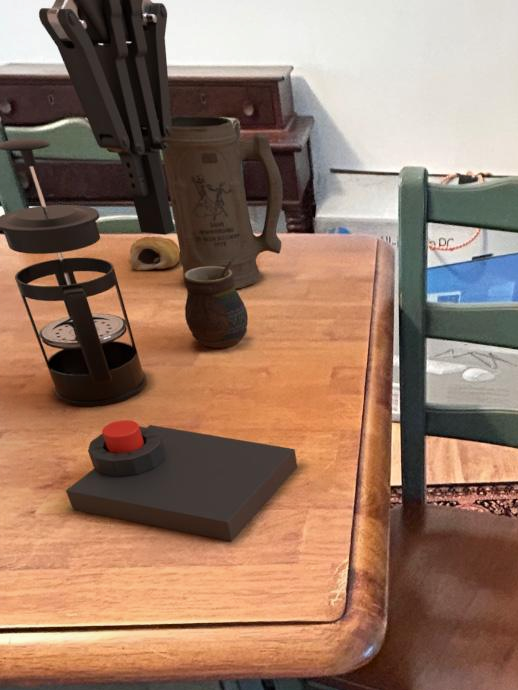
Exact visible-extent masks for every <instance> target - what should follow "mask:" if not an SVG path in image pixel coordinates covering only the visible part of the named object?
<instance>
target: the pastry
mask: <svg viewBox="0 0 518 690" xmlns="http://www.w3.org/2000/svg"><path fill="white" fill-rule="evenodd" d="M129 254H130V256H129V257H130V258H129V259H128V262H129V264H130V265H131V266H132V267H133V268H134V270H136V271H151V270H154V269H158V270H163V269H168V268H172V267H174V266H176V265H177V264H178V262H179V261H180V257H179V255H180V249H179V244H177V242H176V241H175V240H174V239H171V238H167V237H163V236H144V237H142V238H140V239H137V240H136V241H135V242H133V243H132V245H131V247H130V248H129Z"/></svg>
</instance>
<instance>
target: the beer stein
mask: <svg viewBox="0 0 518 690" xmlns="http://www.w3.org/2000/svg"><path fill="white" fill-rule="evenodd" d="M158 122H159V120H158ZM171 122H172V136H171V137H170V138H165V139H164V140H163V141H169V144H170V145H169V149H168V150H161V155H162V159H163V165H164V170H165V171H164V172H165V177H166V182H167V187H168V193H169V198H170V204H171V209H172V215H173V216H172V217H173V222H174V228H175V232H176V237H177V242H178V248H179V261H180V262H181V265H182V266H181V267H182V276H184V273H185V272H187V271H189V270H191V269H194V268H198V267H206V266H219V267H224V268H225V267H226V266H227V264H228V263H229V261H230V260H232V259H234V260H233V262H232V264H231V266H230V268H229V269H230V270H231V271H232V272H233V277H234V282H235V283H234V286H235V289H236V290H238V289H243V288H246V287H248V286H252V285H253V284H255V283H256V282H258V280H259V279H260V271H259V270H260V269H259V267H258V264H257V258H258V256H259V255H260V254H261V253H263V252H271V253H274V254H277V255H279V254H280V253H281V250H282V240H281V239H280V238H279V237H278V235H277V227H278V222H279V219H280V215H281V211H282V206H283V197H284V192H283V180H282V176H281V172H280V170H279V166H278V163H277V162H276V160H275V157H274V155H273V152H272V149H271V145H270V143H271V142H270V135H269V134H267V133H254V136H253V137H251V138H248V139H244V140H241V141H240V140H238V135H237V132H236V131H235V129H234V126H233V122H232V120H231V119H229V118H225V117H220V116H210V115H209V116H207V115H171ZM247 158H255V159H256V160H257V161H258V162H259V163H260V164H261V166H262V169H263V173H264V177H265V182H266V207H265V208H266V210H265V217H264V223H263V228H262V232H261V234H260V235H257V236H256V235H255V234H254V232H253V231H254V230H253V226H252V223H251V218H250V211H249V207H248V201H247V194H246V188H245V183H244V178H243V173H242V164H243V161H244V160H245V159H247ZM183 282H184V283H185V281H184V280H183Z"/></svg>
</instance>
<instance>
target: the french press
mask: <svg viewBox="0 0 518 690" xmlns="http://www.w3.org/2000/svg"><path fill="white" fill-rule="evenodd" d="M48 147H51V142H50V141H47V140H45V139H42V138H34V137H31V138H30V137H24V138H23V137H22V138H14V139H9V140H6V141H4V142H1V143H0V151H1V150H2V151H9V152H20V155H21V158H22V160H23V163H24V166H25V167H28V168H29V171H30V175H31V177H32V180H33V183H34V187H35V189H36V190H35V191H36V192H37V196H38V198H39V203H40V204H41V205H39V206H32V207H27V208H21V209H17V210H13V211H9V212H7V213H4V214H2V215H0V231H2V232H3V234H4V237H5V240H6V243H7V245H8V247H9V249H10V250H12V251H14V252H17V253H20V254H21V253H23V254H31V255H46V254H47V255H48V254H57V257H58V258H56V259H49V260H45V261H41V262H37V263H34V264H33V263H32V264H31V265H28V266H25V267H24V268H21V269H20V270H19V271H17V272H16V274H15V275H14V280H15V283H16V285H17V287H18V290H19V293H20V296H21V299H22V301H23V304H24V307H25V309H26V312H27V315H28V318H29V321H30V323H31V325H32V329H33V331H34V334H35V337H36V339H37V340H36V341H37V343H38V345H39V348H40V351H41V353H42V356H43V358H44V362H45V364H46V367H47V370H48V373H49V375H50V378H51V381H52V383H53V391H54V392H53V393H54V395H55V397H56V399H57V400H59V402H61V403H64V404H66V405H70V406H74V407H101V406H105V405H106V406H107V405H112V404H117V403H120V402H123V401H126V400H128V399H130V398H133V397H135V396H136V395H138V394H140V393H141V392H142V391H143V390H145V388H146V387H147V384H148V378H147V374H146V373H145V372H144V371H143V367H142V365H141V361H140V357H139V353H138V350H137V346H136V343H135V338H134V335H133V331H132V328H131V325H130V321H129V317H128V314H127V310H126V306H125V303H124V299H123V296H122V293H121V289H120V285H119V282H118V277H117V275H116V271H115V270H116V269H115V268H114V264H113V263H112V262H110V261H108V260H106V259H102V258H95V257H80V256H79V257H63V254H62V253H66V252H73V251H77V250H81V249H84V248H85V249H86V248H88V247H90V246H93V245H95V244H97V243H98V242H99V241H100V239H101V235H100V232H99V227H98V224H97V221H98V220H99V218H100V214H99V211H98V210H97V209H96V208H93V207H90V206H86V205H77V204H51V205H50V204H49V205H47V203H46V201H45V197H44V195H43V191H42V189H41V186H40V182H39V179H38V175H37V173H36V170H35V167H37V161H36V158H35V155H34V150H40V149H45V148H48ZM76 272H92V273H93V272H94V273H101V274H104V275H102V276H99V277H97V278H93V279H91V280H90V279H89V280H87V281H83V282H77V279H76V276H75V273H76ZM54 275H55V278H56V281H57V285H35V284H30V283H32V282H33V281H36V280H38V279H42V278H45V277H48V276H49V277H50V276H54ZM114 287H115V290H116V294H117V297H118V301H119V304H120V309H121V311H122V314H123V317H121V316H119V315H115V314H111V313H92V310H91V307H90V304H89V300H88V298H89V297H93V296H97V295H99V294H103V293H105V292H107V291H109V290H111V289H112V288H114ZM27 299H30V300H34V301H43V302H61V301H62V302H63V303H64V306H65V309H66V312H67V315H68V316H66V317H62V318H59V319H57V320H54V321H52V322H49V323H48V324H45V325H44V326H43V327H42V328H40V330H39V332H38V328H37V326H36V323H35V320H34V317H33V315H32V312H31V309H30V306H29V303H28V301H27ZM127 332H128V336H129V340H130V343H131V344H130V343H127V342H122V341H117V340H118V339H120V338H122V337H123V336H124V335H125V334H126V333H127ZM43 344H44V345H46V346H48V347H51V348H53V349H60V350H58V351H56V352H55V353H53V354H52V355H50V357H49V358H48V355H47V353H46V350H45V347H44V345H43Z"/></svg>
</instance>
